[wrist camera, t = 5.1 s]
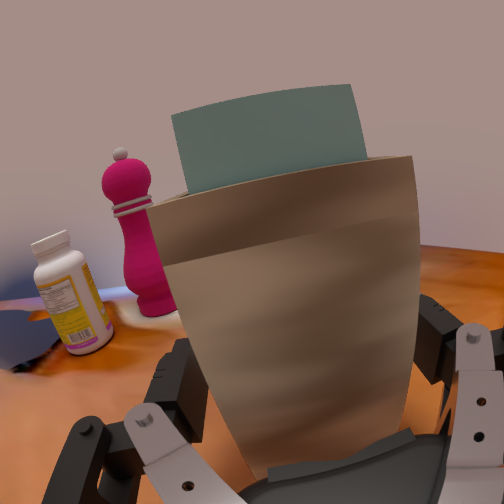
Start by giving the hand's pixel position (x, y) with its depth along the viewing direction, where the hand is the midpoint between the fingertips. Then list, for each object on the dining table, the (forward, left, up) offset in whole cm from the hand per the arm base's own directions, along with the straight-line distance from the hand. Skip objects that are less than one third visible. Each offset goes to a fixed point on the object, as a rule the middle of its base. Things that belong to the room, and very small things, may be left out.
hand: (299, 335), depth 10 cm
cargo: (0, -1, +5) cm, 5 cm away
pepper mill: (-14, +22, -7) cm, 27 cm away
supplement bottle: (-22, +15, -7) cm, 28 cm away
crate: (0, -1, -7) cm, 7 cm away
